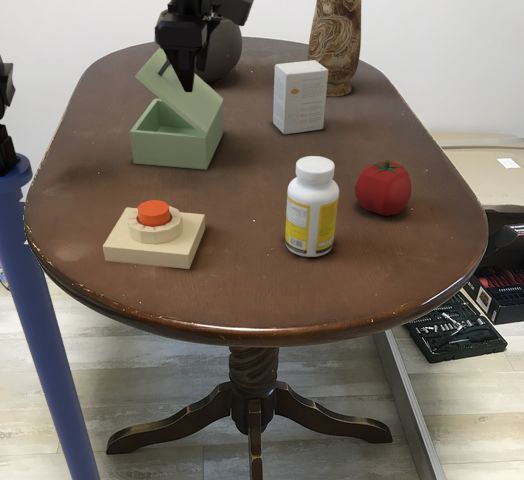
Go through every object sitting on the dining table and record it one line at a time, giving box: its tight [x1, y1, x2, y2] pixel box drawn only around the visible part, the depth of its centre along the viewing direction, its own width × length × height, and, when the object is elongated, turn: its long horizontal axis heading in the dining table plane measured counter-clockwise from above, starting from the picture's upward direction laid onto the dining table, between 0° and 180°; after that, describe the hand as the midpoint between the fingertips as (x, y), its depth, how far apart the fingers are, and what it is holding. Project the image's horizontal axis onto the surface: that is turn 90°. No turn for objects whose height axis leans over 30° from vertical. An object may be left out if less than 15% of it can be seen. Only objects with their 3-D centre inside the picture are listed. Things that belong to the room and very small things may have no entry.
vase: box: [307, 0, 362, 97], centre depth 114 cm, size 10×11×30 cm
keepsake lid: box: [134, 48, 224, 136], centre depth 93 cm, size 13×15×5 cm
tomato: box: [354, 160, 412, 217], centre depth 85 cm, size 8×8×7 cm
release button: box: [137, 199, 170, 227], centre depth 76 cm, size 4×4×2 cm
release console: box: [102, 205, 206, 270], centre depth 77 cm, size 11×10×4 cm
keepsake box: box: [129, 98, 224, 171], centre depth 99 cm, size 12×15×5 cm
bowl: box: [153, 8, 243, 83], centre depth 123 cm, size 18×18×13 cm
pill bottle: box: [284, 155, 340, 258], centre depth 75 cm, size 6×6×12 cm
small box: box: [272, 60, 328, 135], centre depth 105 cm, size 8×6×10 cm
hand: (195, 81), depth 88 cm, fingers open, 9 cm apart
